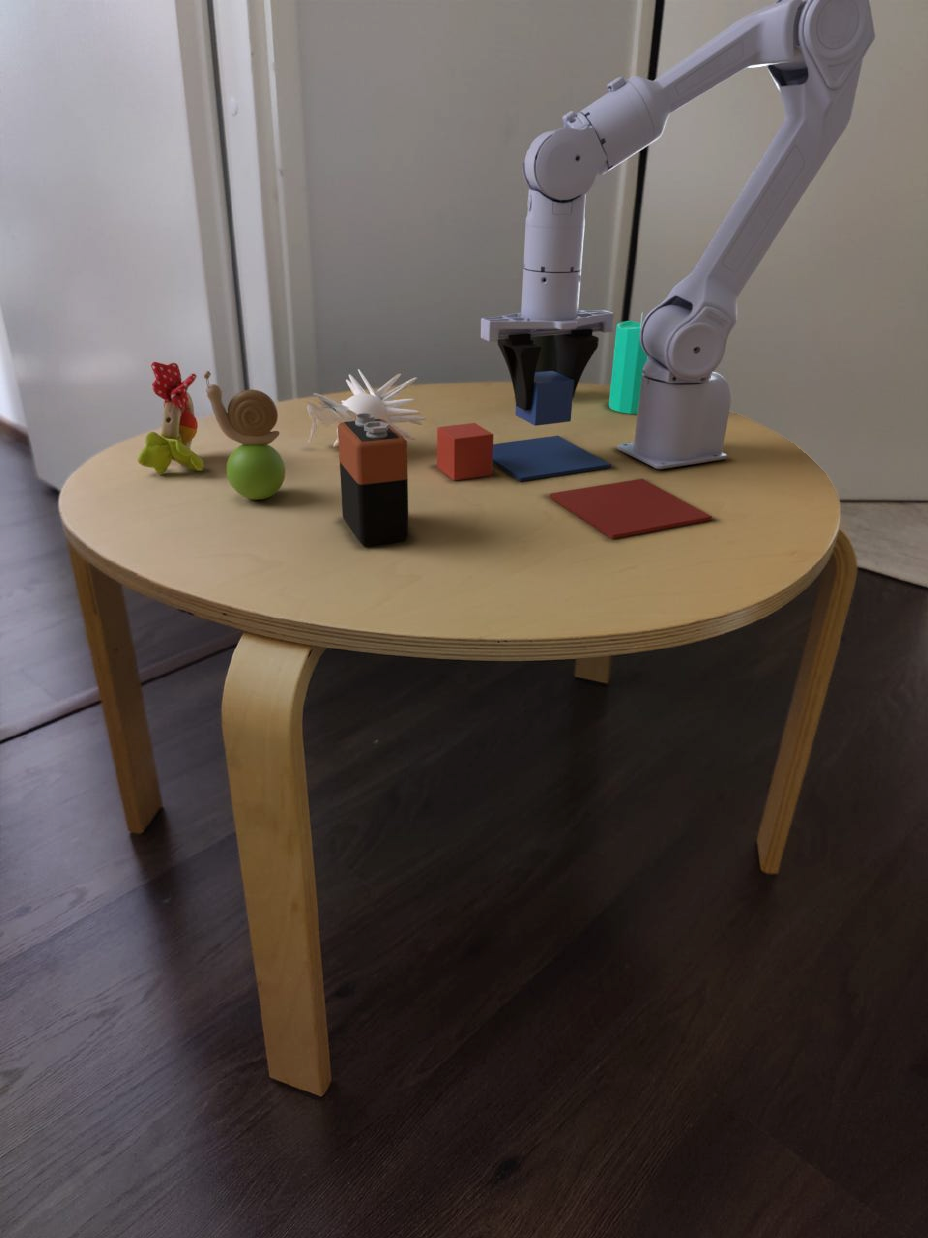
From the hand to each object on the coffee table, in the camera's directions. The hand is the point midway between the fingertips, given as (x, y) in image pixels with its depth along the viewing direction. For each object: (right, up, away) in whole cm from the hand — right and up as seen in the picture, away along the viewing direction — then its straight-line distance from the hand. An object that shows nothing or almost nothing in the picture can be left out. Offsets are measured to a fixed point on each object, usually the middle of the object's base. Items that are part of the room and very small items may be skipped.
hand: (543, 405), depth 92 cm
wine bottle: (+3, +7, +26) cm, 27 cm away
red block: (-8, -7, -1) cm, 11 cm away
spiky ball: (-20, -4, +5) cm, 21 cm away
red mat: (+7, -12, -9) cm, 17 cm away
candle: (+14, +5, +22) cm, 26 cm away
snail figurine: (-29, -11, -9) cm, 32 cm away
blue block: (0, -1, +1) cm, 1 cm away
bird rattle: (-38, -7, -1) cm, 39 cm away
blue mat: (0, -5, +3) cm, 6 cm away
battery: (-16, -15, -15) cm, 27 cm away
